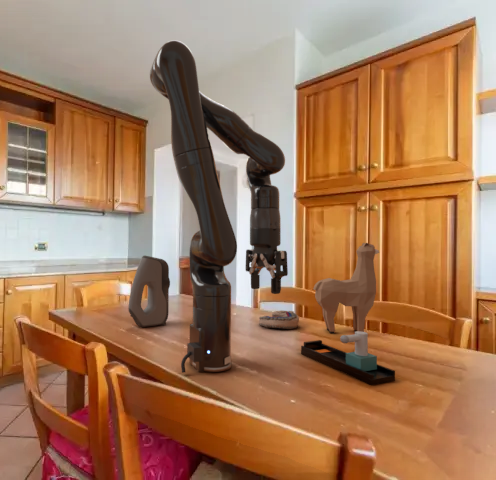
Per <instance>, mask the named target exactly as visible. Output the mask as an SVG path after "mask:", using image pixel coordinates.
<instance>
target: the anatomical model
mask: <svg viewBox="0 0 496 480" xmlns="http://www.w3.org/2000/svg"><path fill="white" fill-rule="evenodd" d="M258 319H259V320H258V325H259V326H262V327H264V328H269V329H271V328H273V329H280V330H292V329H296V328H298V327H299V322H300V318H299V315H298V314H296V313H295V311H294V310H275V311H273V312H272V313H271V316H270V315H263V316H259V318H258Z"/></svg>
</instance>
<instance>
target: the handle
mask: <svg viewBox="0 0 496 480" xmlns="http://www.w3.org/2000/svg"><path fill="white" fill-rule="evenodd" d="M339 340H340V342H341V343H343V344H350V343H354V351H351V352H346V364H349V365H351V366H354V367H356V368H359V369H361V370H363V371H370V370H376V369H377V364H378V356H377V355H376V354H372V353H369V352H368V351H369V350H368V349H369V344H368V343H369V334H368V332H366V331H364V332H362V331H355V332H354V334H342V335H340V337H339Z"/></svg>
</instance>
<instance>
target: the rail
mask: <svg viewBox="0 0 496 480" xmlns="http://www.w3.org/2000/svg"><path fill="white" fill-rule="evenodd" d="M346 353H347V352H346V351H343V350H341V349H338V348H336V347H333V346H330V345H329V344H328V345H327V344H325V343H323V340H321V339H318V340H308V341H303V345H301V346H300V354H301V355H303V356H305V357H307V358H309V359H312V360H313V361H316V362H317V363H320V364H322V365H325V366H326V367H329V368H332V369H334V370H336V371H339V372H340V373H343V374H345V375H347V376H349V377H352V378H354V379H356V380H359V381H360V382H363V383H365V384H367V385H369V386H376V385H381V384H386V383H391V382H396V370H395V369H391V368H389V367H386V366H384V365H381V364H378V363H377V369H376V370H370V371H363V370H361V369H359V368H356V367H354V366H351V365H349V364H346Z"/></svg>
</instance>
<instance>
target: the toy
mask: <svg viewBox="0 0 496 480" xmlns="http://www.w3.org/2000/svg"><path fill="white" fill-rule="evenodd" d="M355 252H356V256H357V260H356V266H355V269H354V271H353V274H352V275H351V278H349V279H344V280H340V279H335V278H331V277H327V278H323V279H320V280H318V281H316V283H315V284H314V286H313V289H312V290H314V291H315V292H314V293H315V294H314V297H315V300H316V302H317V304H318V306H320V307H321V310H322V316H323V320H324V324H325V328H326V331H328V332H329V334H333V335H335V334H336V326H335V316H336V314H337V312H338V309H339V305H340V304H341V305H343V306H344V307H351V311H352V327H353V328H352V329H353V332H354V333H355V331H362V332H365V325H366V317H368V314H369V312H370V311H371V309H372V308H373V306H374V304H375V300H376V299H375V298H376V294H377V278H376V272H375V271H376V270H375V261H374V259H375V256H376V255H377V254H380V250H379V249H376V248H375V245H374V244H371V243H369V242H362V243H361V245H359V246H358V247H357V249H356V251H355Z"/></svg>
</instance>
